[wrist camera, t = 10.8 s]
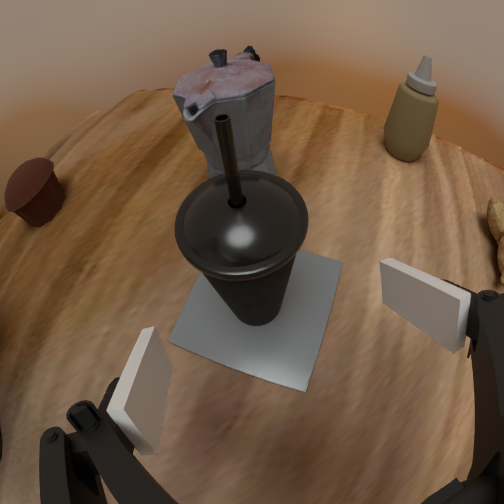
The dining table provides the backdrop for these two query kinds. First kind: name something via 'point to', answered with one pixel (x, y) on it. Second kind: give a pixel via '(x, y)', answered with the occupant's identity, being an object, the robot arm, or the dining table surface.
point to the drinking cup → (243, 233)
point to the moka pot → (230, 108)
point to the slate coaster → (264, 326)
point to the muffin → (34, 192)
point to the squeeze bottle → (412, 114)
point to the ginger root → (497, 229)
